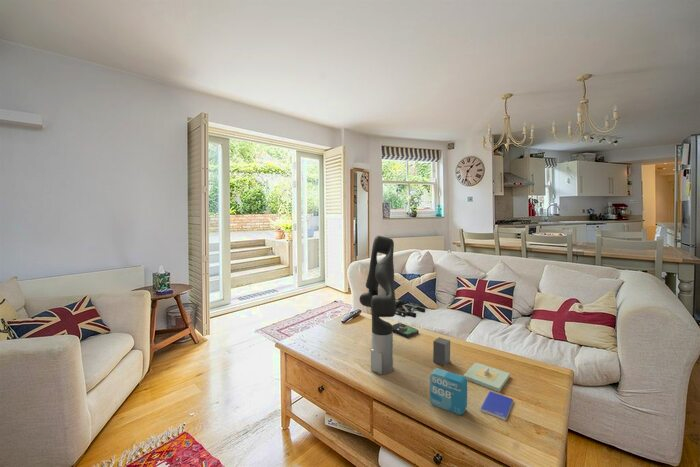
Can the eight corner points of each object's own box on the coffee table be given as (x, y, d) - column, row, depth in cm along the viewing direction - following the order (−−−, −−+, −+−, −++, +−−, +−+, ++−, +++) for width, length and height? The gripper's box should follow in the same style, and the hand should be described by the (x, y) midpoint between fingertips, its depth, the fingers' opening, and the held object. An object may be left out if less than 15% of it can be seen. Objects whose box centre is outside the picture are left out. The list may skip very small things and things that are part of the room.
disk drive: (387, 331, 176) (407, 339, 164) (387, 326, 175) (407, 334, 164) (399, 326, 182) (419, 334, 171) (399, 322, 182) (419, 329, 171)
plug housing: (444, 366, 135) (444, 344, 134) (433, 361, 139) (433, 341, 138) (450, 361, 139) (450, 340, 138) (438, 357, 143) (439, 337, 142)
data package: (429, 403, 109) (429, 372, 108) (434, 397, 113) (434, 367, 112) (463, 416, 102) (463, 383, 101) (467, 409, 106) (467, 377, 105)
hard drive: (506, 417, 100) (513, 398, 110) (480, 407, 105) (489, 390, 115) (505, 422, 100) (513, 403, 110) (480, 412, 105) (489, 394, 115)
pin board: (499, 392, 115) (499, 383, 115) (463, 378, 125) (463, 370, 125) (509, 376, 126) (509, 368, 125) (475, 365, 135) (475, 357, 135)
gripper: (384, 302, 150) (412, 309, 139) (400, 295, 161) (427, 301, 150) (384, 316, 151) (412, 325, 140) (400, 308, 161) (427, 316, 150)
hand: (420, 313), depth 145 cm, fingers open, 8 cm apart
